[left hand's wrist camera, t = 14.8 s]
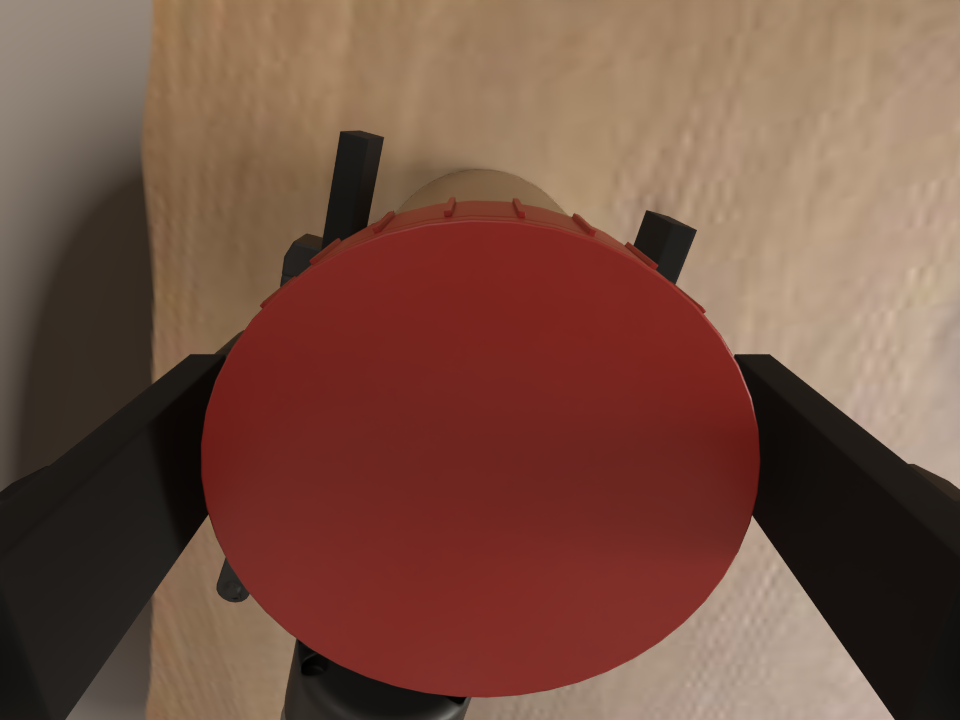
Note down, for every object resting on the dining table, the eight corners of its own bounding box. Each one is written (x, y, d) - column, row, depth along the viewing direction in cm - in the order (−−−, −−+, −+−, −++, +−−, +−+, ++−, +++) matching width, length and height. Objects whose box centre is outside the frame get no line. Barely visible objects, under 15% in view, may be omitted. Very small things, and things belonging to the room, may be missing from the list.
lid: (798, 462, 12) (866, 533, 10) (453, 671, 15) (448, 766, 13) (522, 73, 10) (534, 59, 8) (149, 404, 12) (75, 467, 10)
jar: (390, 371, 27) (284, 661, 12) (368, 174, 24) (191, 252, 9) (579, 363, 27) (697, 647, 12) (582, 164, 23) (748, 228, 9)
